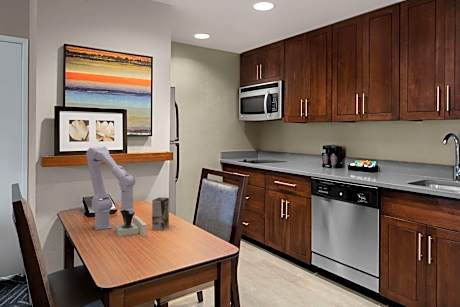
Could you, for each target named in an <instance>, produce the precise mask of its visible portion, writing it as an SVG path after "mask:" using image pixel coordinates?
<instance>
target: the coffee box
mask: <svg viewBox="0 0 460 307" xmlns="http://www.w3.org/2000/svg"><path fill="white" fill-rule="evenodd" d="M169 202H170V198H169V197H158V198H155V199H153V200H152V201H151V204H152V205H151V206H152V207H151V219H152V220H151V221H152V222H151V227H152V228H151V230H154V231H155V230H156V231H163V230H165V229H167V228H168V227H169V226H170V224H169V223H170V203H169Z"/></svg>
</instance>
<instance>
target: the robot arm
mask: <svg viewBox="0 0 460 307" xmlns="http://www.w3.org/2000/svg"><path fill="white" fill-rule="evenodd" d="M85 155H86V160H87V165H88V170H89V174H90V179H91V184H92V187H93V188H92V189H93V193H94V195H93V197H92V198H91V210H92V211H93V213H94V217H95V218H94V223H95V224H93V225H92V226H93V228H94V229H95V231H99V230H106V229H112V226H111V225H110V211H111V209H112V208H113V201H112V200H113V199H112V198H111V196H110V195H109V194H108V193H107V192H106V190H105V186H104V180H103V177H102V172H101V168H100V165H101V164H102V162H103V163H104V164H106V165H107V166H108V167H109V168H110V169H111V173H112V175H113V176H114V177H115V178H116V179H117V181H118V185H119V187H120V191H121V207H118V208H119V210H120V214H121V216H122V220H123V223H124V224H125V221H126V226H128V225H131V224H132V223H133V216H135V210H134V186H135V184H136V178H135V177H134V175H133V174H129V173H128V172H127V171H126V170H125V169H124V166H121V165H118V164H117V162H116V161H115V160H114V159H113V157H112V156H111V155H110V151H109V150H108V148H107V147H105V146H103V147H89V148H88V149H87V151H86V153H85ZM124 224H123V225H124Z"/></svg>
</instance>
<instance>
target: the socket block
mask: <svg viewBox="0 0 460 307" xmlns="http://www.w3.org/2000/svg"><path fill="white" fill-rule="evenodd" d="M114 231H116V234H117V236H118V237H124V236H132V234H133V235H139V234H140V233H139V227H138V226H137V225H136V224H135V223H133V222H131V227H130V228H125V224H115V225H114ZM138 233H139V234H138Z"/></svg>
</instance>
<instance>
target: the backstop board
mask: <svg viewBox="0 0 460 307" xmlns="http://www.w3.org/2000/svg"><path fill="white" fill-rule="evenodd" d="M132 223H135V224H136V225H137V226H138V227H139V235H140V236H141V237H147V236H148V234H147V233H148V232H147V231H148V228H147V225H148V224H147V223H146V222H144V221H143V220H142V219H141V218H140V217H139V216H137V215H133V218H132Z"/></svg>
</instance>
